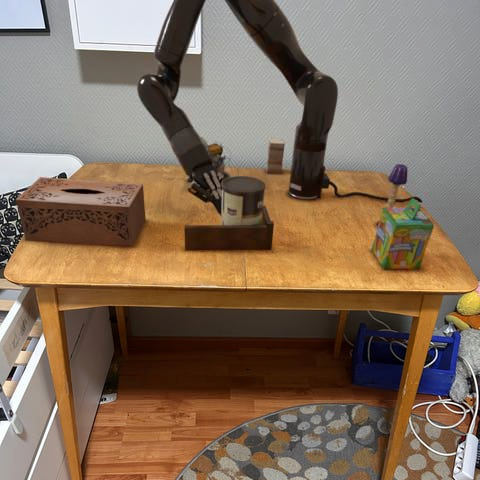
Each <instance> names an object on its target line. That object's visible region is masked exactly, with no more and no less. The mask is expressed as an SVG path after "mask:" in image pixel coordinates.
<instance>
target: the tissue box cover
mask: <svg viewBox="0 0 480 480" xmlns="http://www.w3.org/2000/svg"><path fill="white" fill-rule="evenodd" d="M144 191H145V190H144V184H143V183H139V182H138V183H137V182H122V181H105V180H89V179H73V178H60V177H59V178H57V177H41V176H40V177H39V178H37V180H35V182H33V183H32V184H31V185H29V187H28V188H27V189H26V190H24V191H23V192H22V193H21V194H20V195H19V196H18V197H17V198H15V204H16V208H17V212H18V216H19V219H20V223H21V227H22V231H23V234H24V240H25V241H36V242H37V241H39V242H52V243H53V242H55V243H68V244H82V245H83V244H86V245H102V246H116V247H130V248H131V247H132V248H134V246H135V244H136V242H137V240H138V239H139V236H140V234H141V232H142V230H143V227H144V226H145V224H146V222H147V217H146V205H145V193H144Z"/></svg>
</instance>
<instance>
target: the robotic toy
mask: <svg viewBox="0 0 480 480" xmlns="http://www.w3.org/2000/svg"><path fill="white" fill-rule="evenodd" d="M200 138H201V140H202V141H203V143H204V145H205V147H206V149H207V150H208V152H209V154H210V156H211V158H212V160H213V161H212V164H213V166H214V167H215V168H216V169H217V171H218V172H219V173H221V174H223V173H226V174H227V178H230V177H231V175H230V173H229V171H228V170H225V169H226V165H225V160H226V159H228V160H229V161H228V163H230V162H231V158H232V156H230V158H229V157H227V156H226V155H223V152H224V146H223V145H222V143H220V144H218V143H217V142H213V143H211V144H208V142H207V141H206V139H205V138H203V137H202V136H200ZM227 150H228V151H229V152H231V150H229V149H228V148H227ZM222 155H223V156H222ZM186 181H187V182H189V181H190V176H187V177H186ZM190 182H191V181H190Z"/></svg>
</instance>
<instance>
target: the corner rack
mask: <svg viewBox="0 0 480 480" xmlns="http://www.w3.org/2000/svg"><path fill="white" fill-rule="evenodd" d="M183 228H184V229H183V230H184V251H186V252H187V251H188V252H189V251H192V252H193V251H195V252H196V251H272V248H273V241H274V240H273V239H274V228H275V223H274V220H271V218H270V215H269V211H268V208H267V205H263V216H262V225H221V224H207V225H206V224H204V225H203V224H194V225H193V224H190V225H188V224H185V225H184V227H183Z"/></svg>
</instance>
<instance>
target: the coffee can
mask: <svg viewBox="0 0 480 480" xmlns="http://www.w3.org/2000/svg"><path fill="white" fill-rule="evenodd" d="M221 186H222V210H221V215H220V221H221V222H220V225H262V216H263V206H264V202H265V192H266V191H265V190H266V183H265V182H264V181H263V180H262V179H259V178H256V177H252V176H245V175H237V176H236V175H235V176H230V178H226V179H224V180H223V181H222V183H221Z"/></svg>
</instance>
